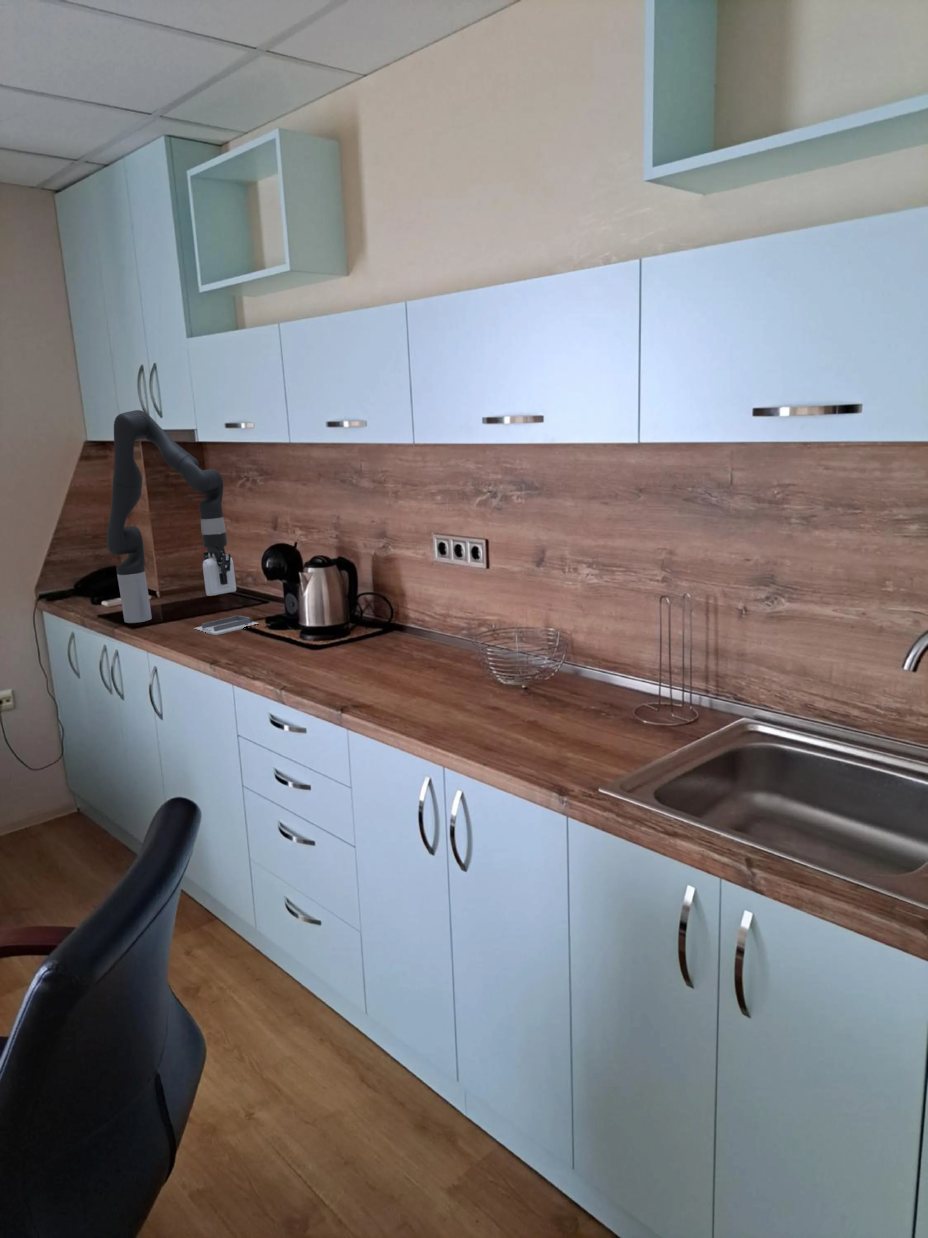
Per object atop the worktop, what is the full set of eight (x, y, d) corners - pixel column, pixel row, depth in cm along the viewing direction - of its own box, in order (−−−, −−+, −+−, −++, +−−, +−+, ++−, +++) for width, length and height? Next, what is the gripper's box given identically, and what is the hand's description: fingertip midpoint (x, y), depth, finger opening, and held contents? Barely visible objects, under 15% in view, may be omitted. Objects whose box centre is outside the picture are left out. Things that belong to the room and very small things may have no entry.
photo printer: (232, 589, 301) (227, 553, 298) (238, 591, 297) (234, 554, 295) (204, 595, 294) (199, 558, 291) (210, 596, 291) (205, 559, 288)
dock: (194, 629, 298) (193, 623, 297) (236, 619, 309) (235, 613, 308) (215, 635, 288) (214, 628, 288) (258, 624, 299) (257, 618, 298)
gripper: (192, 532, 294) (199, 583, 297) (214, 534, 283) (221, 587, 287) (213, 529, 299) (219, 579, 302) (235, 531, 289) (241, 583, 292)
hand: (220, 583), depth 295 cm, fingers closed on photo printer, 4 cm apart
